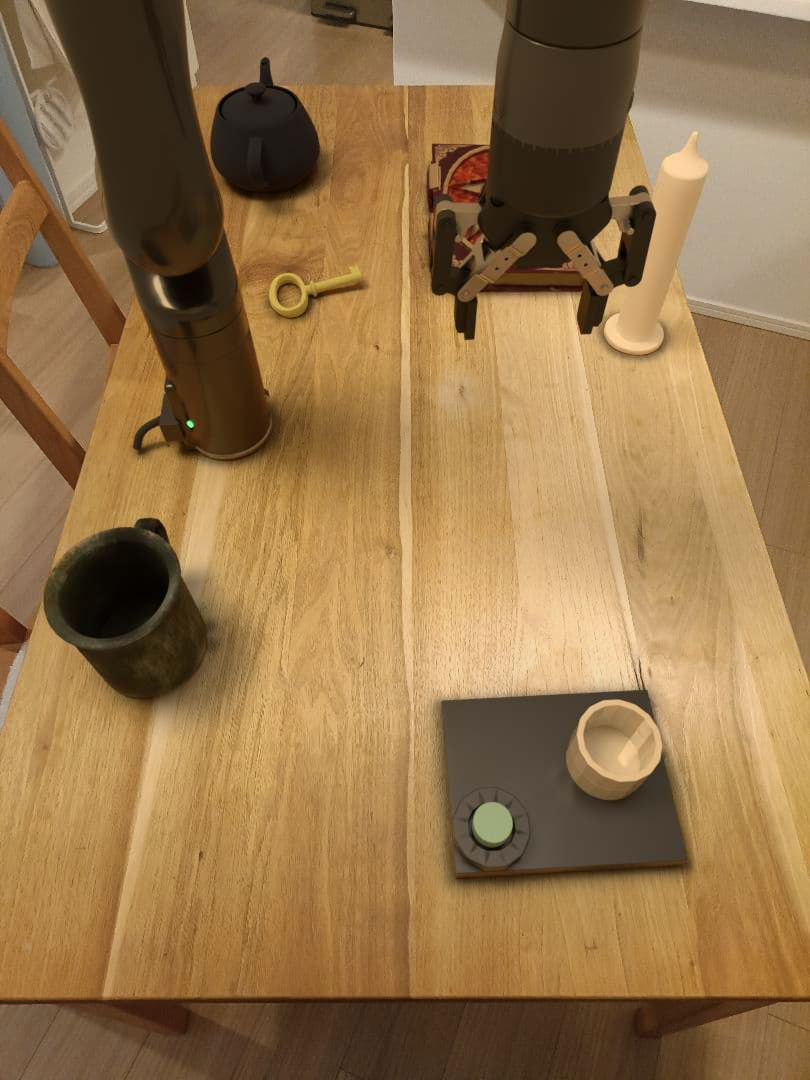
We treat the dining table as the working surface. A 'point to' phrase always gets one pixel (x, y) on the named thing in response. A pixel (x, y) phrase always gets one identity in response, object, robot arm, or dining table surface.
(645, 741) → the beige cup
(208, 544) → the dining table surface
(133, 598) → the mug
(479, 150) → the book
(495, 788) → the scale
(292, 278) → the key
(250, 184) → the teapot
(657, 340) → the candle
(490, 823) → the button
